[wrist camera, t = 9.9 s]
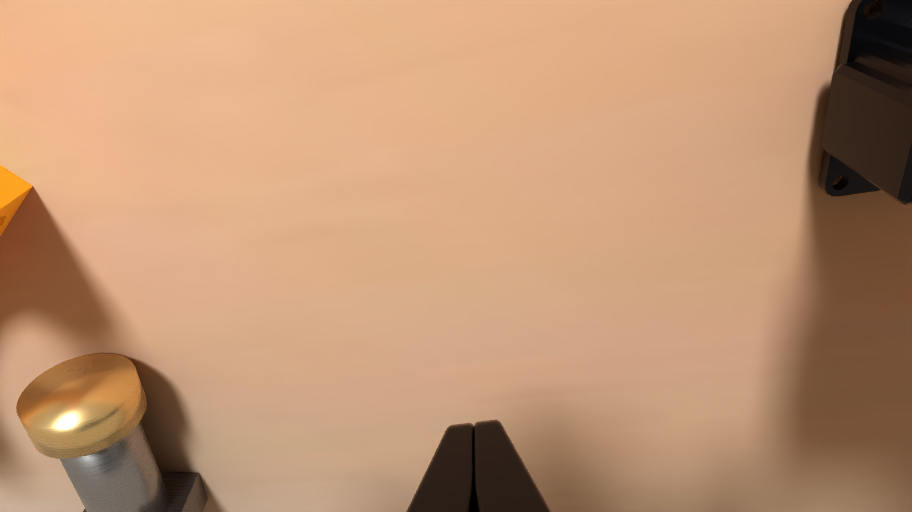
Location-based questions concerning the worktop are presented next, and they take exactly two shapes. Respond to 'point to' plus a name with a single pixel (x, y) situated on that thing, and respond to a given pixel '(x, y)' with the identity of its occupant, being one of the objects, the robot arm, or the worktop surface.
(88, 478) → the shaft
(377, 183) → the worktop surface
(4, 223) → the pipe clamp
